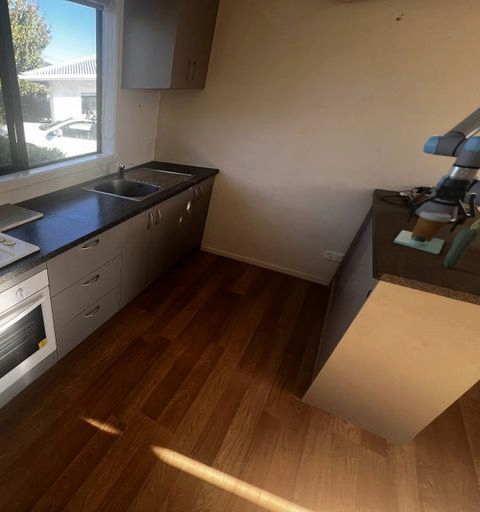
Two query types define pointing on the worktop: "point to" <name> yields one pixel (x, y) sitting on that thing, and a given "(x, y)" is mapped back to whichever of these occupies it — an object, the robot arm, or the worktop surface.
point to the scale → (407, 240)
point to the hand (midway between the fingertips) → (428, 226)
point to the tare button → (420, 239)
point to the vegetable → (461, 244)
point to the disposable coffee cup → (430, 224)
